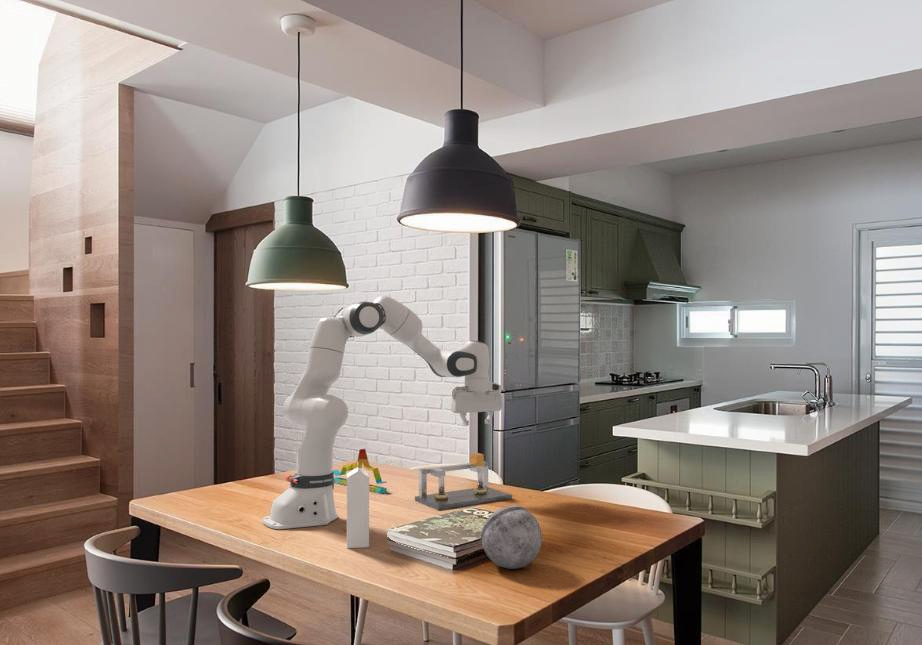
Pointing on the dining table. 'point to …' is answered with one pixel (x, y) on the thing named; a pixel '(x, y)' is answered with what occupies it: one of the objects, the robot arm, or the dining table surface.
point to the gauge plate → (460, 496)
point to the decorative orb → (511, 537)
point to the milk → (357, 509)
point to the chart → (361, 459)
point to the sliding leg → (478, 466)
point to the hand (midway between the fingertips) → (476, 424)
